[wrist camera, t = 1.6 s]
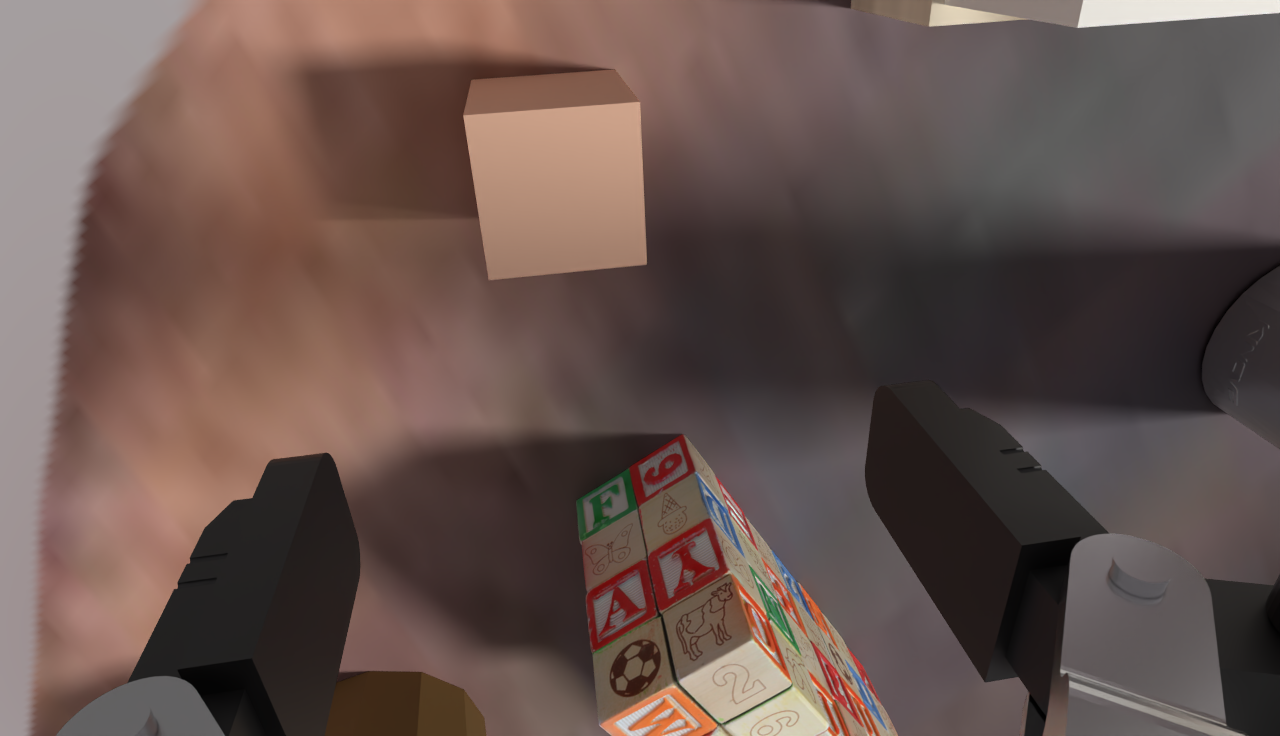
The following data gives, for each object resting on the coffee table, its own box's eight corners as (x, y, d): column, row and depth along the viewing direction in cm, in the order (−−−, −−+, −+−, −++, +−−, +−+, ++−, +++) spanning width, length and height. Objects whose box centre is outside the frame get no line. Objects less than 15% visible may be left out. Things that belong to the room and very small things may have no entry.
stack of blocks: (865, 663, 46) (974, 883, 35) (775, 712, 47) (853, 941, 36) (681, 429, 35) (756, 641, 25) (570, 498, 36) (596, 731, 26)
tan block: (614, 69, 27) (640, 101, 22) (622, 206, 30) (646, 264, 25) (471, 79, 27) (463, 115, 22) (491, 218, 29) (489, 280, 24)
